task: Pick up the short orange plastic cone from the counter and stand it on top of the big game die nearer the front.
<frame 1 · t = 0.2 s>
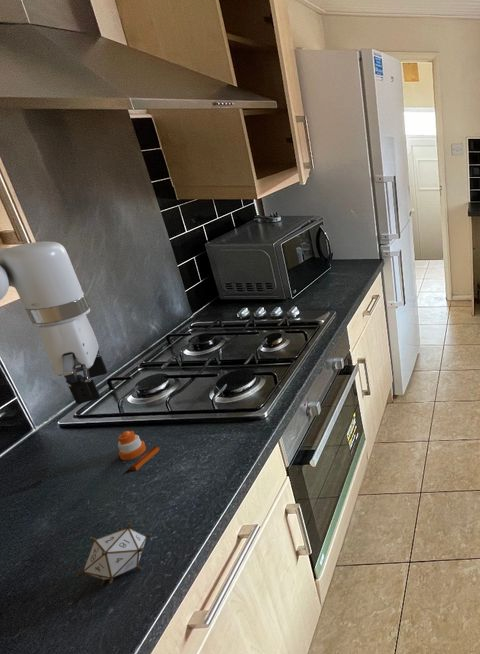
hand: (93, 387, 82), 23 cm above the worktop, tool pointing down, fingers open, 9 cm apart
game die: (124, 570, 72), on the worktop
cone: (136, 459, 94), on the worktop
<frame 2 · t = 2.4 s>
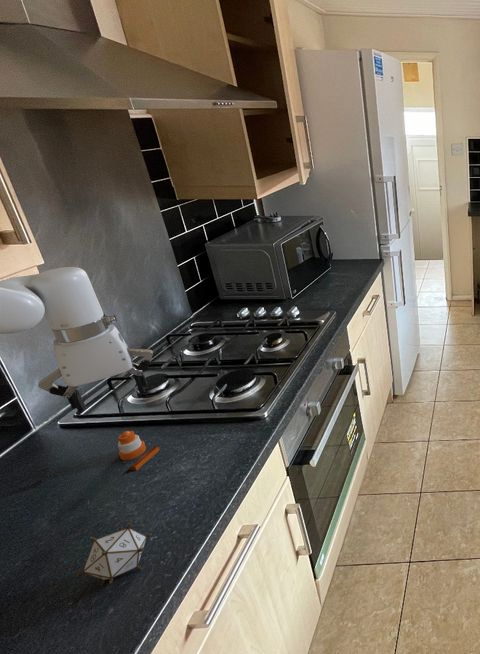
hand: (113, 398, 89), 17 cm above the worktop, tool pointing down, fingers open, 9 cm apart
nothing on the worktop moved.
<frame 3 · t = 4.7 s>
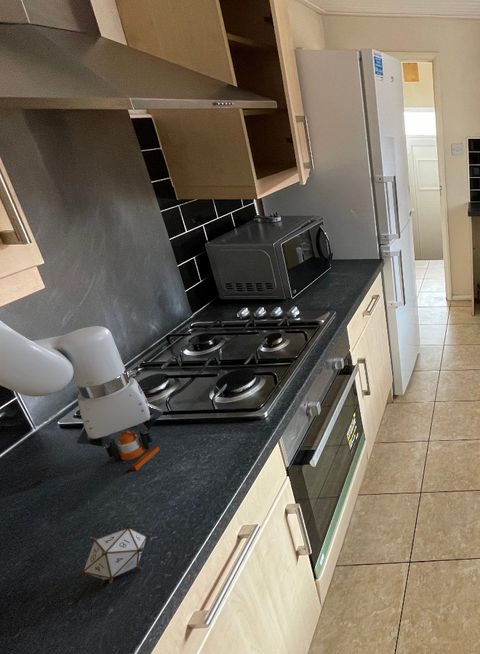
hand: (132, 450, 93), 3 cm above the worktop, tool pointing down, fingers closed on cone, 4 cm apart
cone: (136, 459, 94), on the worktop, touching gripper
everything else where it was.
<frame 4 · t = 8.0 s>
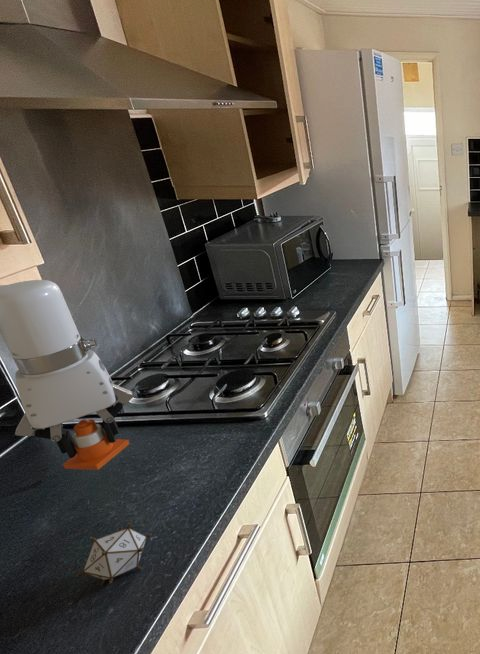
hand: (93, 444, 73), 19 cm above the worktop, tool pointing down, fingers closed on cone, 4 cm apart
cone: (98, 455, 74), point 17 cm above the worktop, touching gripper
everything else where it was.
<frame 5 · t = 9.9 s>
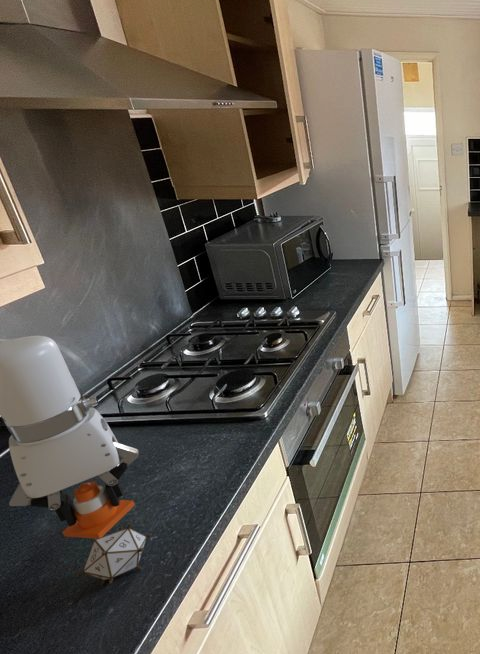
hand: (95, 508, 67), 14 cm above the worktop, tool pointing down, fingers closed on cone, 4 cm apart
cone: (101, 520, 68), point 12 cm above the worktop, touching gripper
everything else where it was.
when the fingers open (11 cm above the worktop, at t = 11.3 s): cone stays where it is, resting on game die.
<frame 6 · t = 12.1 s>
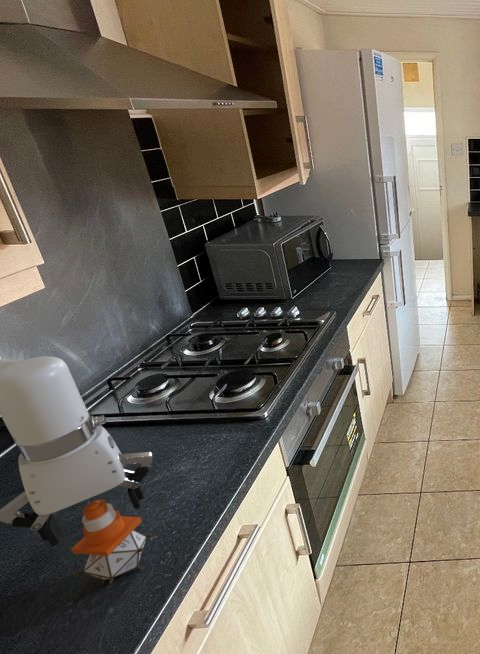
hand: (99, 520, 67), 12 cm above the worktop, tool pointing down, fingers open, 9 cm apart
game die: (124, 570, 72), on the worktop, touching cone
cone: (108, 536, 69), point 8 cm above the worktop, touching game die
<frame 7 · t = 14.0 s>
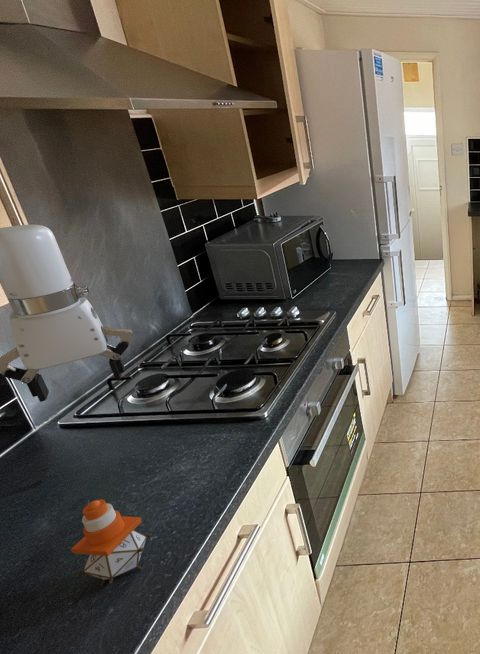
hand: (83, 386, 75), 28 cm above the worktop, tool pointing down, fingers open, 9 cm apart
nothing on the worktop moved.
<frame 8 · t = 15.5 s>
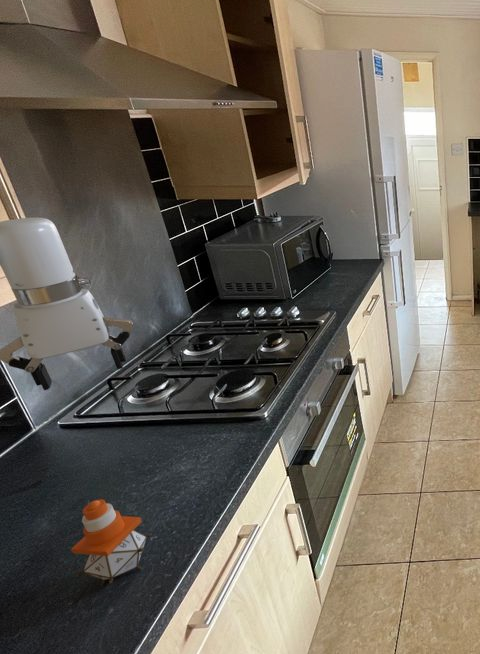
hand: (85, 375, 77), 28 cm above the worktop, tool pointing down, fingers open, 9 cm apart
nothing on the worktop moved.
at the end: cone 0.1 cm off-centre on the game die, point 8.2 cm above the game die's base; cone tilted 0° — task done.
